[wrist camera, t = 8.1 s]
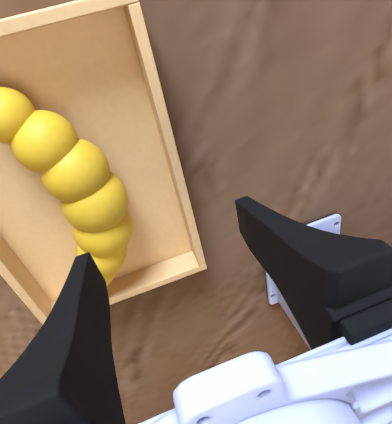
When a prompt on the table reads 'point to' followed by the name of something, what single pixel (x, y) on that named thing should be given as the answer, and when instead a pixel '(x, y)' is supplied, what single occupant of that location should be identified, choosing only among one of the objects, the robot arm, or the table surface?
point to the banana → (71, 178)
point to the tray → (100, 136)
